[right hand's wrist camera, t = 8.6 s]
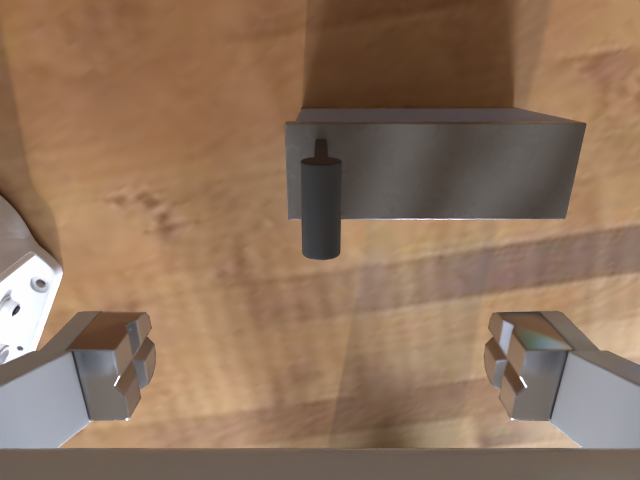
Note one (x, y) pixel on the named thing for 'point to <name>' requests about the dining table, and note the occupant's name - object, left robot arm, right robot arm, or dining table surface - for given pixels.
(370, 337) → the dining table surface
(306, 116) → the chest
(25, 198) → the dining table surface
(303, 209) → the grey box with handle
